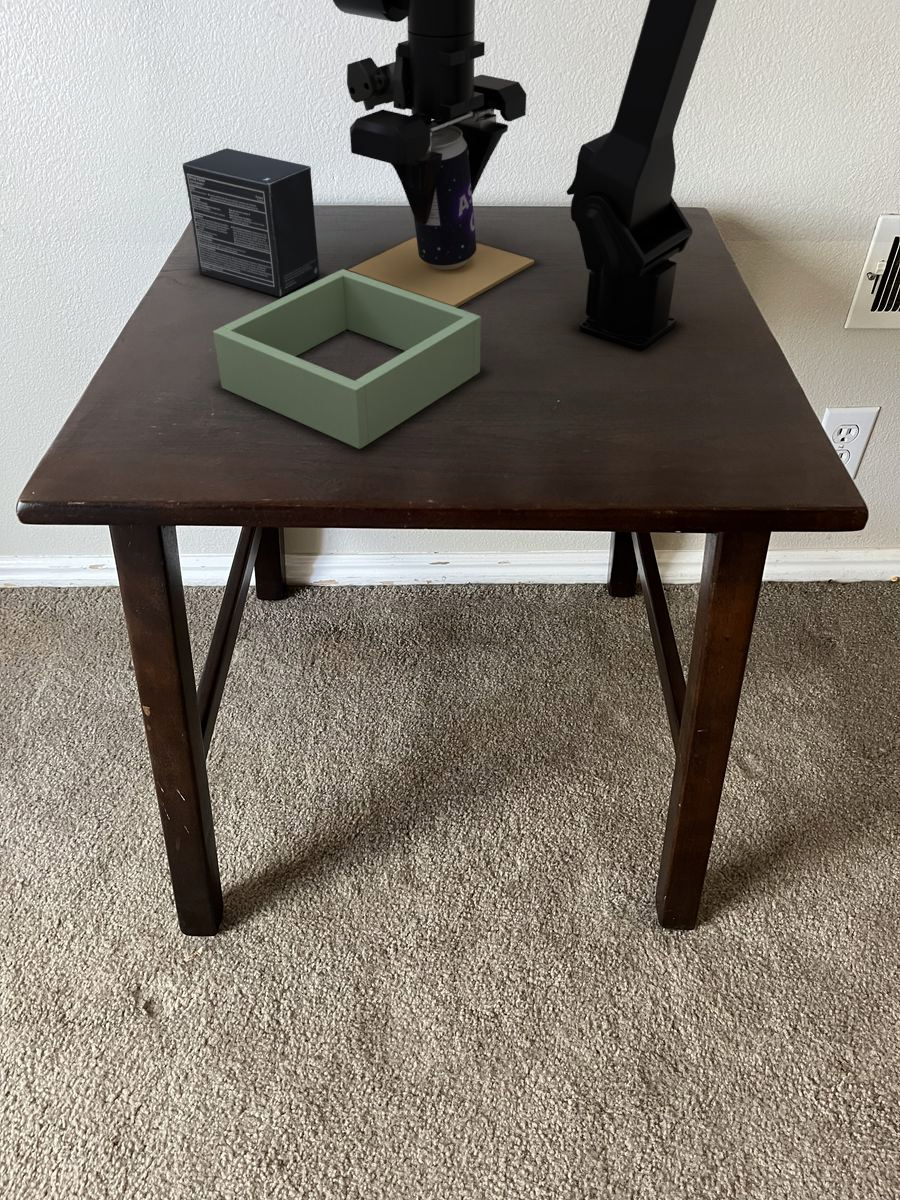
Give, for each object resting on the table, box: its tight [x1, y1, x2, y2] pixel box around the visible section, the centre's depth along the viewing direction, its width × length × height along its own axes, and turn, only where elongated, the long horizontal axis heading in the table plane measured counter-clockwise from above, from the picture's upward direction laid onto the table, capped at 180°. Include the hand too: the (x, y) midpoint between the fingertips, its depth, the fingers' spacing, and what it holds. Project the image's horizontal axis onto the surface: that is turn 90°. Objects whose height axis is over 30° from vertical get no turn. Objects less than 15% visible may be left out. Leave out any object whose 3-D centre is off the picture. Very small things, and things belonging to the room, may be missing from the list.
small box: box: [182, 147, 320, 298], centre depth 98 cm, size 11×6×10 cm, turn 58°
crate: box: [212, 268, 482, 450], centre depth 84 cm, size 15×15×5 cm
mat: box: [347, 236, 535, 308], centre depth 102 cm, size 13×13×1 cm
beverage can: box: [413, 125, 477, 270], centre depth 98 cm, size 6×6×12 cm
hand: (442, 213), depth 98 cm, fingers closed on beverage can, 6 cm apart
